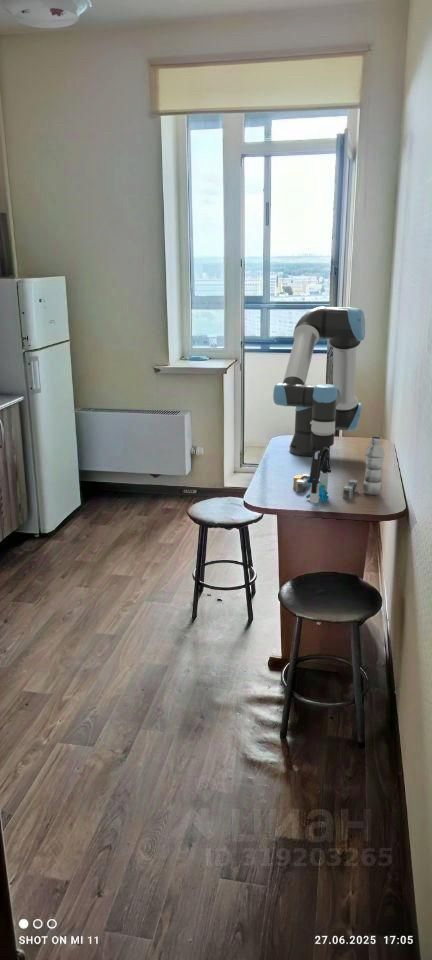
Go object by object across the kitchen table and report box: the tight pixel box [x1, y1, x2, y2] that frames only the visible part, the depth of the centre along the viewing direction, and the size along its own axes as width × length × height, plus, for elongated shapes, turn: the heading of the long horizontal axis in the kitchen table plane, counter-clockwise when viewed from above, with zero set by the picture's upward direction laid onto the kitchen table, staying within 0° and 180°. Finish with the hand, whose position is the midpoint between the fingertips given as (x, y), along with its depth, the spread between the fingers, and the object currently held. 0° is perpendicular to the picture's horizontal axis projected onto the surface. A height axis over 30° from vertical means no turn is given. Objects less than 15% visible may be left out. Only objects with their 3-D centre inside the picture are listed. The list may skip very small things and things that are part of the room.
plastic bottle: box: [362, 436, 386, 496], centre depth 232 cm, size 6×7×20 cm
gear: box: [306, 476, 330, 503], centre depth 227 cm, size 11×6×10 cm
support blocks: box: [292, 473, 358, 500], centre depth 237 cm, size 10×21×4 cm, turn 67°
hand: (318, 496), depth 227 cm, fingers open, 11 cm apart
